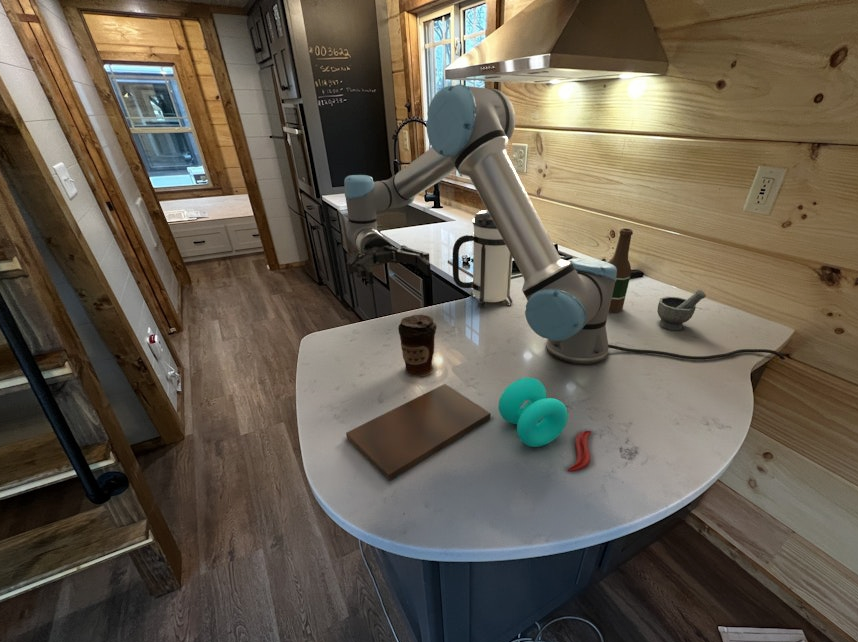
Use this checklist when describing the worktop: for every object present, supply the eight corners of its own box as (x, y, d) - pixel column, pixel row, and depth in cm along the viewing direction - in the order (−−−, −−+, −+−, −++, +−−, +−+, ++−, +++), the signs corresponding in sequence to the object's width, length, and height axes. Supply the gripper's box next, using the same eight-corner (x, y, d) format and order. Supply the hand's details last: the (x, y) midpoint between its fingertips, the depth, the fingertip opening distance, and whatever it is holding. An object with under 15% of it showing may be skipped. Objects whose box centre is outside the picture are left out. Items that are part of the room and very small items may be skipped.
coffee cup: (431, 382, 91) (429, 331, 84) (396, 378, 92) (391, 327, 85) (441, 363, 98) (440, 314, 91) (408, 359, 100) (405, 310, 93)
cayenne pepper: (579, 476, 68) (581, 468, 67) (554, 464, 70) (556, 456, 69) (606, 439, 76) (608, 431, 75) (583, 429, 78) (585, 421, 77)
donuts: (519, 456, 72) (524, 412, 66) (494, 423, 80) (497, 380, 74) (566, 441, 75) (575, 398, 70) (538, 411, 83) (543, 369, 77)
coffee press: (482, 287, 141) (485, 195, 125) (522, 298, 133) (530, 201, 117) (451, 303, 129) (450, 203, 113) (493, 316, 121) (499, 210, 105)
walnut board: (445, 389, 89) (444, 383, 88) (490, 418, 81) (490, 413, 80) (347, 438, 75) (345, 432, 74) (389, 481, 67) (388, 474, 66)
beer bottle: (625, 306, 129) (644, 228, 116) (618, 315, 123) (637, 234, 110) (601, 301, 132) (616, 225, 119) (593, 309, 126) (609, 230, 113)
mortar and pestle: (647, 324, 118) (658, 285, 111) (660, 315, 123) (671, 277, 117) (686, 337, 111) (700, 296, 105) (699, 327, 117) (713, 287, 110)
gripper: (418, 255, 113) (450, 282, 98) (328, 267, 104) (347, 298, 88) (417, 228, 109) (451, 251, 94) (323, 237, 99) (342, 264, 84)
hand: (401, 274), depth 91 cm, fingers open, 13 cm apart
